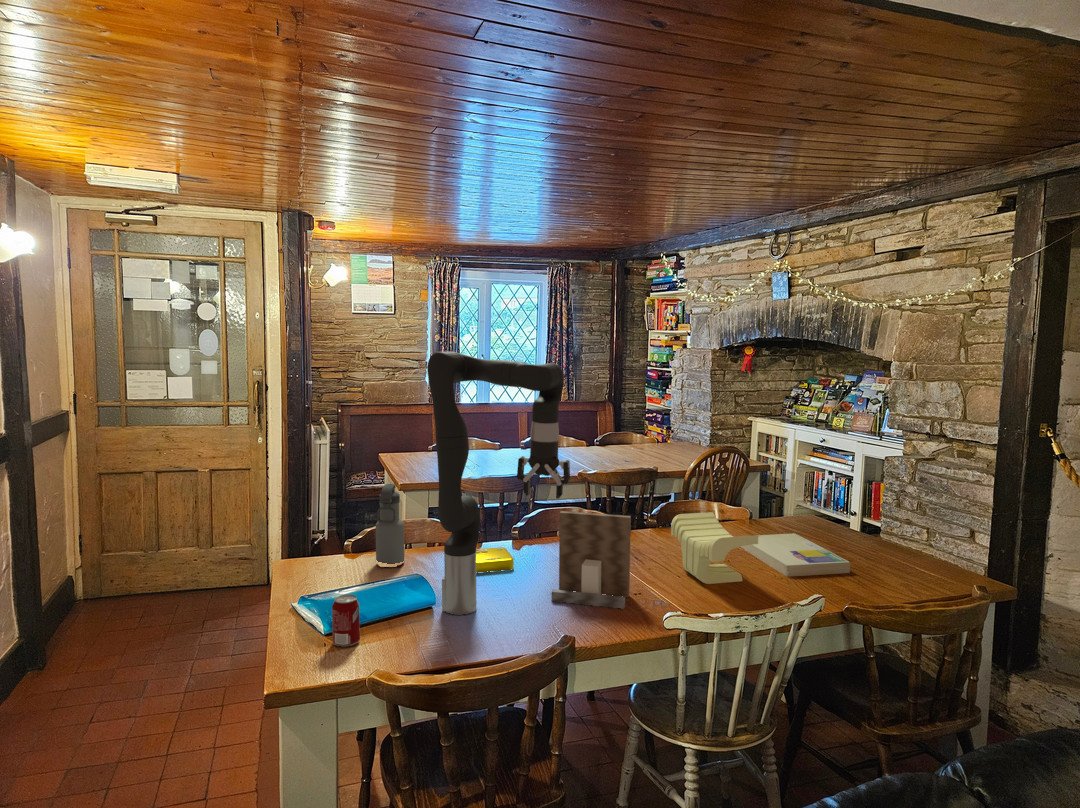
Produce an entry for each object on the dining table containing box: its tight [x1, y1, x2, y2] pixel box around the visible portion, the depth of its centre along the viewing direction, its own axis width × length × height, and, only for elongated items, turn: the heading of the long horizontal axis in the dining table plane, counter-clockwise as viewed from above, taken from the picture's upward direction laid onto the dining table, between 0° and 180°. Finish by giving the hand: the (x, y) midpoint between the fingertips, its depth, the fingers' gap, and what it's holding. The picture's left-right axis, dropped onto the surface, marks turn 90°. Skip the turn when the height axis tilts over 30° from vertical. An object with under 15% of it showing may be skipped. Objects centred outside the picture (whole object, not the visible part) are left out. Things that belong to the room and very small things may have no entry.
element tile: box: [476, 546, 515, 573], centre depth 239 cm, size 15×15×5 cm
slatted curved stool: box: [670, 511, 759, 585], centre depth 228 cm, size 30×16×18 cm, turn 14°
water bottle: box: [375, 483, 405, 564], centre depth 238 cm, size 10×10×28 cm
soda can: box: [331, 593, 361, 648], centre depth 176 cm, size 7×7×12 cm
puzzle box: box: [738, 532, 851, 577], centre depth 248 cm, size 36×5×24 cm
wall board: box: [551, 510, 632, 610], centre depth 207 cm, size 22×12×25 cm, turn 75°
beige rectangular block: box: [581, 559, 601, 594], centre depth 208 cm, size 5×6×11 cm
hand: (542, 496), depth 185 cm, fingers open, 8 cm apart
